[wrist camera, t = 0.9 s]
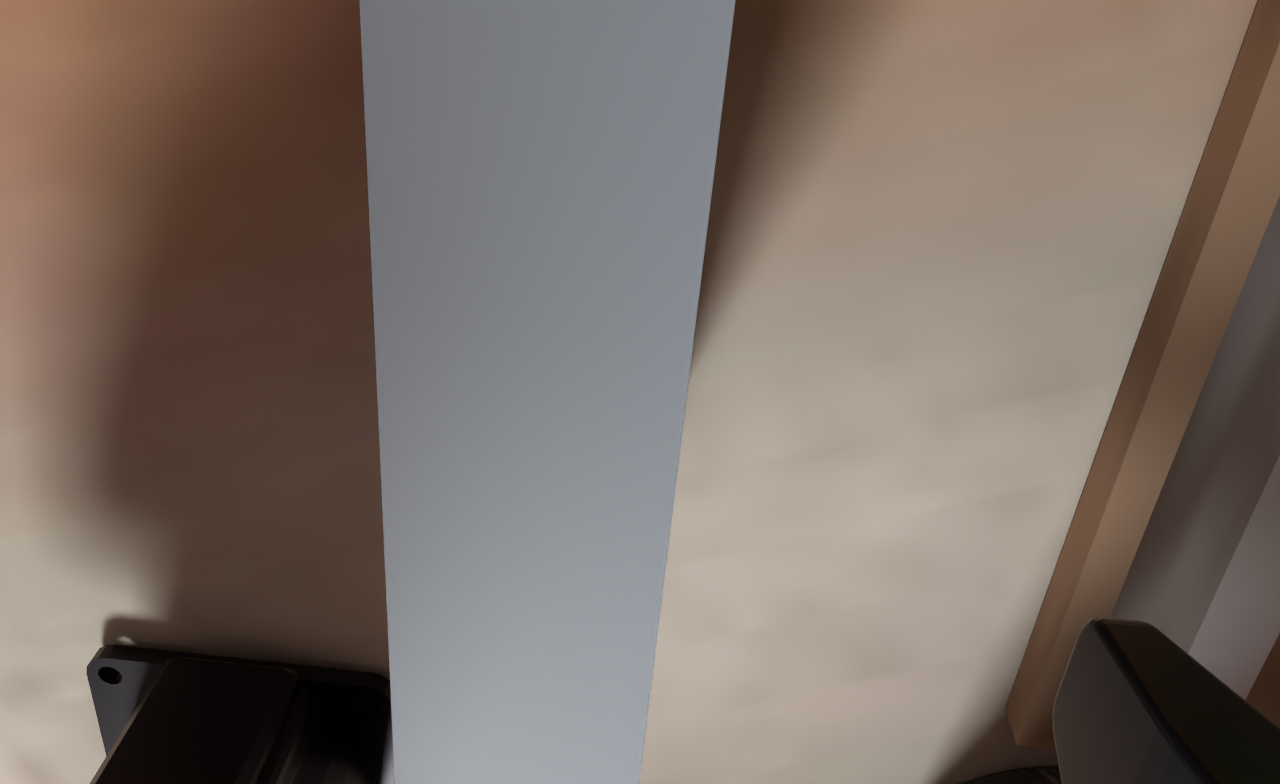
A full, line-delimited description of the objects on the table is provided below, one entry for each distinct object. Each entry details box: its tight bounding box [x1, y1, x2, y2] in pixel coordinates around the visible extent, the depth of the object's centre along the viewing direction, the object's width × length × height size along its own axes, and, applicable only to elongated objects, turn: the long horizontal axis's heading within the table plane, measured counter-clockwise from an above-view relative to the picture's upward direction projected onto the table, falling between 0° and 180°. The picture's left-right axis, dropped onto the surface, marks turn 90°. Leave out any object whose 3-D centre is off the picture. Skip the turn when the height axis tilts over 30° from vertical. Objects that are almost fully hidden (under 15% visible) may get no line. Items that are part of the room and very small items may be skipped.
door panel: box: [359, 0, 735, 784], centre depth 13 cm, size 10×3×9 cm, turn 175°
